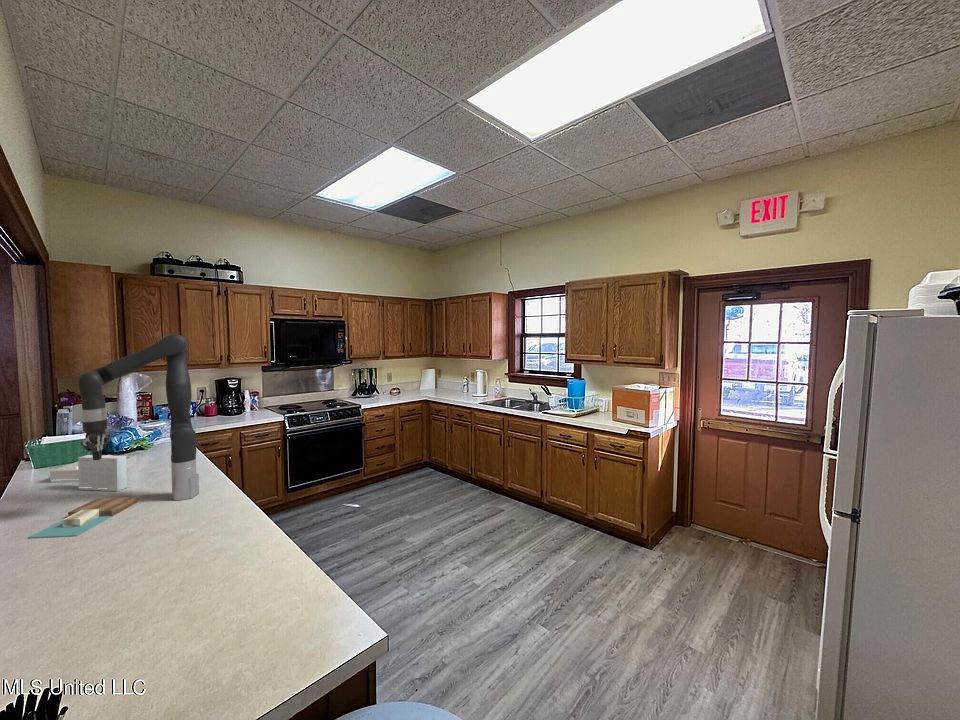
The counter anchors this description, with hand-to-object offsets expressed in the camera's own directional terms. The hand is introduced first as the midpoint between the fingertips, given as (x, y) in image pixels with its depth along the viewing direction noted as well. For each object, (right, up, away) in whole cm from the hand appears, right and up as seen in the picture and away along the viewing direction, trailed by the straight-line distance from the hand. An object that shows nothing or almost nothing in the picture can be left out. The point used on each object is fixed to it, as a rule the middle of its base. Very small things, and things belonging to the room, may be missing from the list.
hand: (97, 459), depth 168 cm
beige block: (+3, -22, -9) cm, 24 cm away
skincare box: (-22, -21, +26) cm, 40 cm away
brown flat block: (+1, -22, +2) cm, 22 cm away
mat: (+3, -23, -13) cm, 27 cm away
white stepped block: (-45, -19, +47) cm, 68 cm away
